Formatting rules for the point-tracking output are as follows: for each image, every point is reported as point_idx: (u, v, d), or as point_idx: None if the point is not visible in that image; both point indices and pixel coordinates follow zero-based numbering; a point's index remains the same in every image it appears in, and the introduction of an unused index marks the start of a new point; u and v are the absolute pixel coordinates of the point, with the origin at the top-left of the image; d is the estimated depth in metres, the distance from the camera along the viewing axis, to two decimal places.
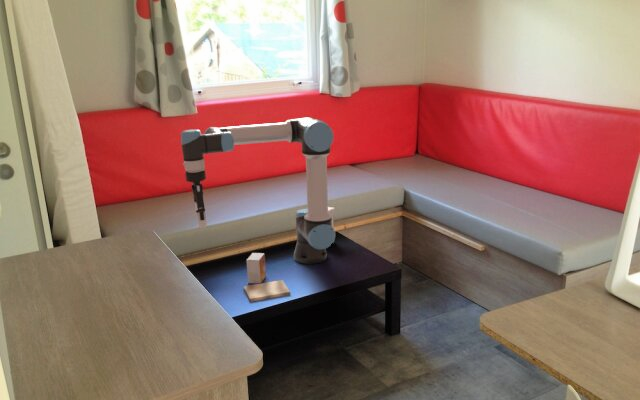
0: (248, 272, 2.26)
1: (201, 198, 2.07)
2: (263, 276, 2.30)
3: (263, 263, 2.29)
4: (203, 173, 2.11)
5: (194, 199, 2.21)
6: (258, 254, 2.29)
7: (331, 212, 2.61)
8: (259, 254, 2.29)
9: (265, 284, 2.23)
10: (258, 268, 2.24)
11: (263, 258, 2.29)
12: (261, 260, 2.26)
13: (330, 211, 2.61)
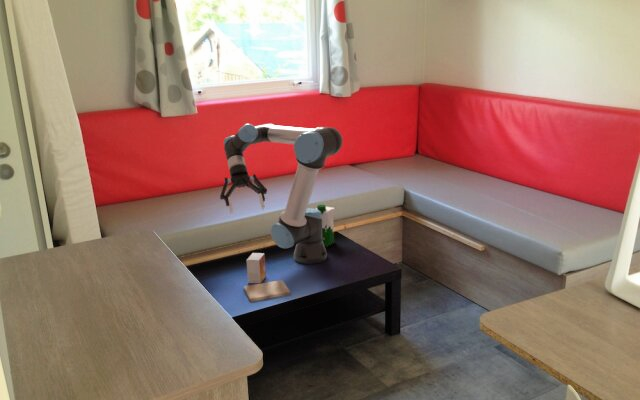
0: (248, 272, 2.26)
1: (223, 187, 2.34)
2: (263, 276, 2.30)
3: (263, 263, 2.29)
4: (233, 167, 2.38)
5: (259, 193, 2.39)
6: (258, 254, 2.29)
7: (331, 212, 2.61)
8: (259, 254, 2.29)
9: (265, 284, 2.23)
10: (258, 268, 2.24)
11: (263, 258, 2.29)
12: (261, 260, 2.26)
13: (330, 211, 2.61)
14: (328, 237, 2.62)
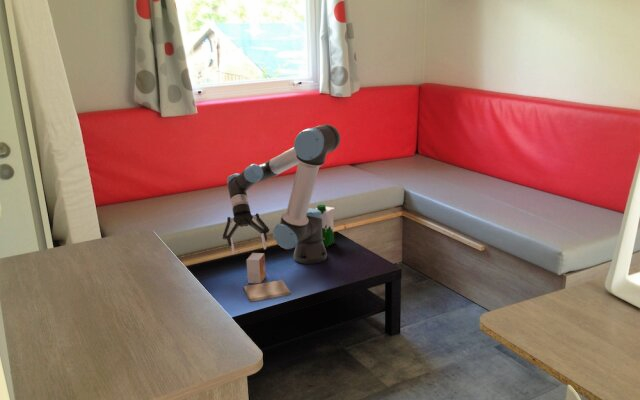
0: (248, 272, 2.26)
1: None
2: (263, 276, 2.30)
3: (263, 263, 2.29)
4: (236, 206, 2.39)
5: (261, 232, 2.40)
6: (258, 254, 2.29)
7: (331, 212, 2.61)
8: (259, 254, 2.29)
9: (265, 284, 2.23)
10: (258, 268, 2.24)
11: (263, 258, 2.29)
12: (261, 260, 2.26)
13: (330, 211, 2.61)
14: (328, 237, 2.62)
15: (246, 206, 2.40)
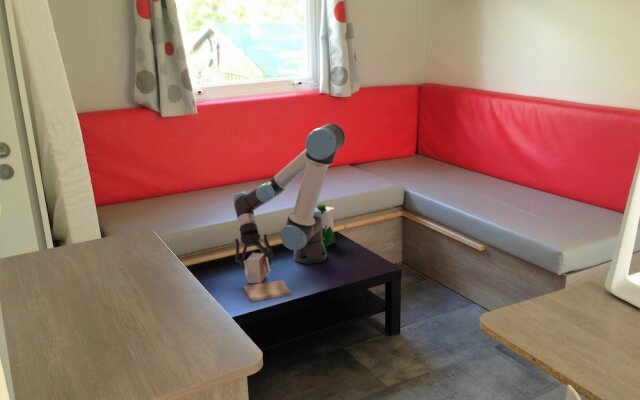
0: (248, 272, 2.26)
1: (236, 249, 2.29)
2: (264, 276, 2.30)
3: (263, 263, 2.29)
4: (244, 226, 2.33)
5: (265, 255, 2.32)
6: (258, 254, 2.29)
7: (331, 212, 2.61)
8: (259, 254, 2.29)
9: (265, 284, 2.23)
10: (258, 268, 2.24)
11: (263, 258, 2.29)
12: (261, 260, 2.26)
13: (330, 211, 2.61)
14: (328, 237, 2.62)
15: (253, 225, 2.34)
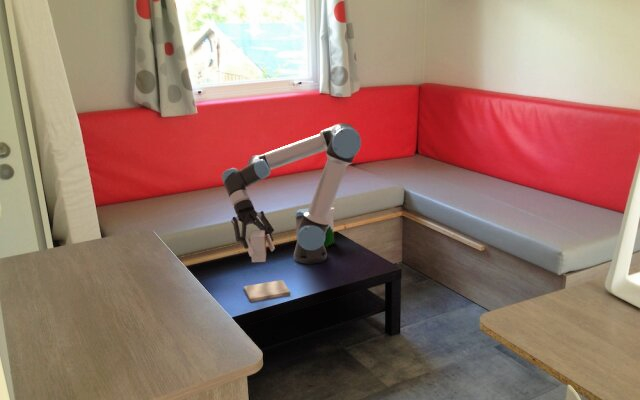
0: None
1: (235, 228, 2.14)
2: None
3: (265, 240, 2.17)
4: (240, 203, 2.18)
5: (265, 233, 2.21)
6: (259, 231, 2.17)
7: (331, 212, 2.61)
8: (260, 231, 2.17)
9: (265, 284, 2.23)
10: (263, 245, 2.12)
11: None
12: None
13: (330, 211, 2.61)
14: (328, 237, 2.62)
15: (250, 202, 2.20)
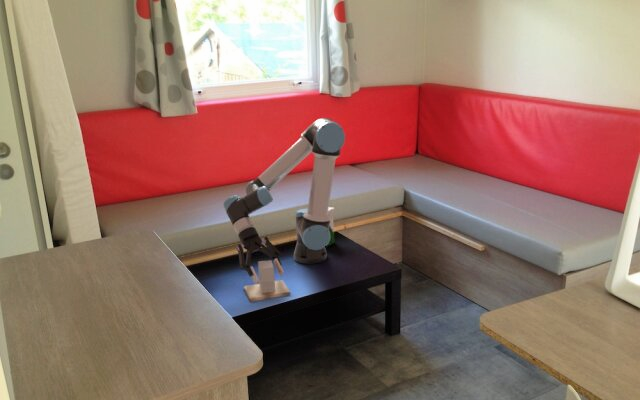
0: (261, 282, 2.13)
1: (240, 256, 2.14)
2: None
3: None
4: (245, 231, 2.18)
5: (272, 258, 2.22)
6: (266, 262, 2.18)
7: (331, 212, 2.61)
8: (267, 261, 2.18)
9: None
10: (272, 276, 2.14)
11: None
12: None
13: (330, 211, 2.61)
14: None
15: (254, 229, 2.20)
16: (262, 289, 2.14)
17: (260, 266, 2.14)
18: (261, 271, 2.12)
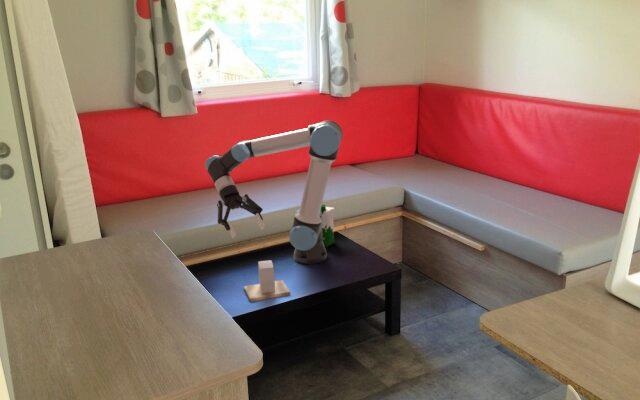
0: (261, 282, 2.13)
1: (219, 211, 2.19)
2: None
3: None
4: (225, 188, 2.24)
5: (253, 213, 2.28)
6: (266, 262, 2.18)
7: (331, 212, 2.61)
8: (267, 261, 2.18)
9: None
10: (272, 276, 2.14)
11: None
12: None
13: (330, 211, 2.61)
14: (328, 237, 2.62)
15: (235, 187, 2.26)
16: (262, 289, 2.14)
17: (260, 266, 2.14)
18: (261, 271, 2.12)
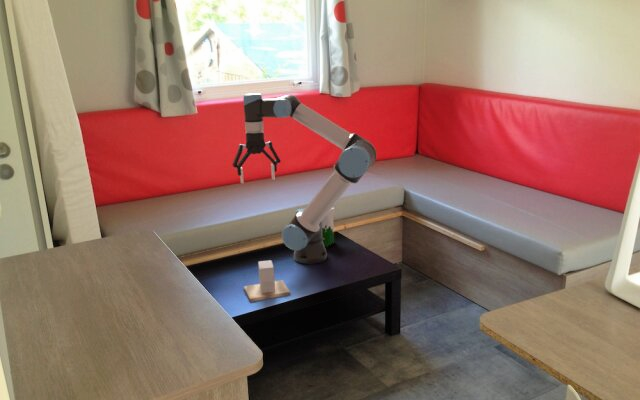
0: (261, 282, 2.13)
1: (237, 155, 2.28)
2: None
3: None
4: (251, 136, 2.25)
5: None
6: (266, 262, 2.18)
7: (331, 212, 2.61)
8: (267, 261, 2.18)
9: None
10: (272, 276, 2.14)
11: None
12: None
13: (330, 211, 2.61)
14: (328, 237, 2.62)
15: (261, 136, 2.26)
16: (262, 289, 2.14)
17: (260, 266, 2.14)
18: (261, 271, 2.12)
